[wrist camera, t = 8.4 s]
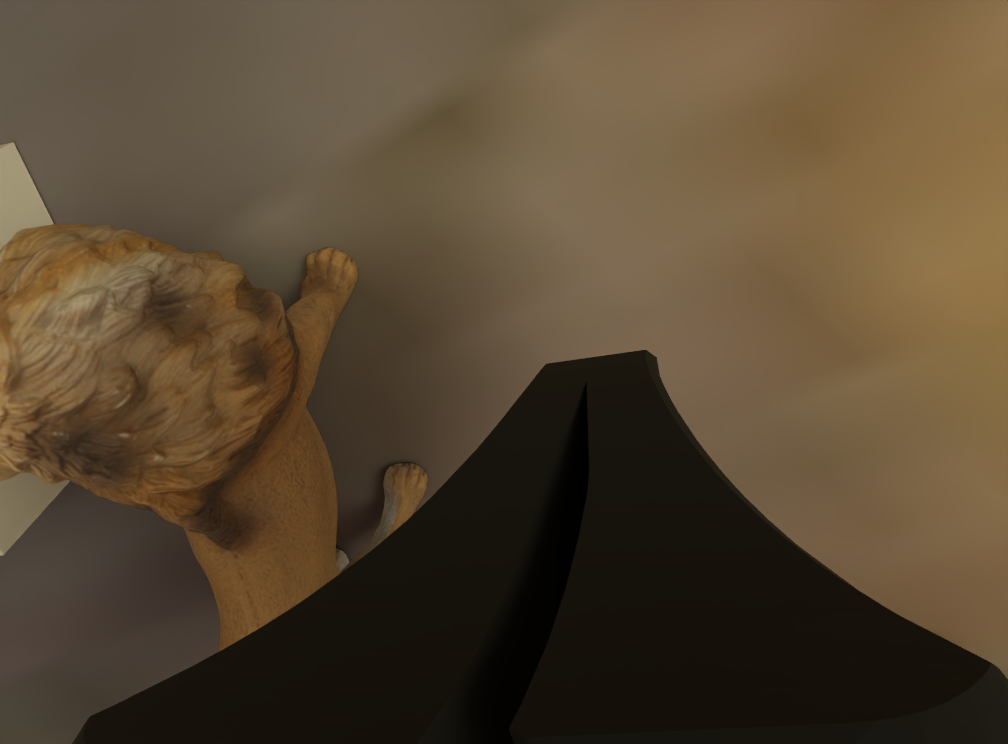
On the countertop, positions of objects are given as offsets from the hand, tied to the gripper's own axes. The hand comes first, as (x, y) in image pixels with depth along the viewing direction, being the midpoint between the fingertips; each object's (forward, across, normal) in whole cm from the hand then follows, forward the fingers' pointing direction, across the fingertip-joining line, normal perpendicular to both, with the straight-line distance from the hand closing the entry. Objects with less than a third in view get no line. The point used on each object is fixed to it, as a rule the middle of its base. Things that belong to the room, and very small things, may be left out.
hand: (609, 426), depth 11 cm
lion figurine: (+10, +9, +4) cm, 14 cm away
